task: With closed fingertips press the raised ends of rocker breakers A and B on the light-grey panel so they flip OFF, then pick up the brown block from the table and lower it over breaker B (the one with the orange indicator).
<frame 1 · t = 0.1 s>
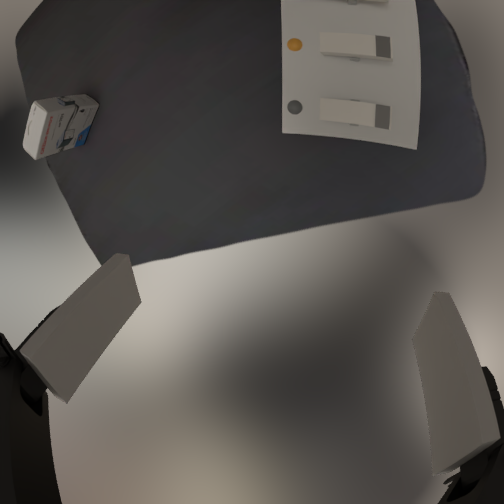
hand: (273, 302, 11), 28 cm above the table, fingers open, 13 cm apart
ink box: (84, 118, 37), on the table
breaker c: (356, 112, 26), point 5 cm above the table, hinge at 15.0°
panel: (351, 53, 26), on the table
breaker b: (356, 45, 22), point 5 cm above the table, hinge at 15.0°
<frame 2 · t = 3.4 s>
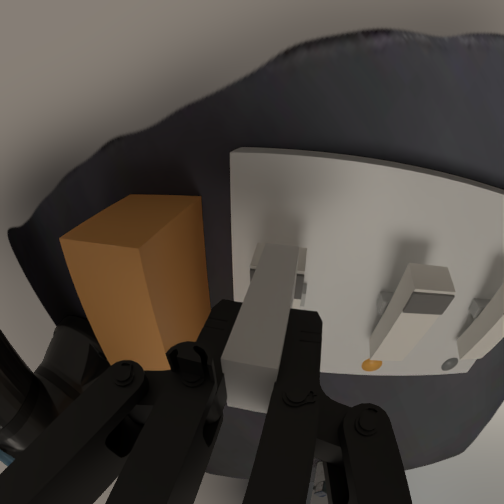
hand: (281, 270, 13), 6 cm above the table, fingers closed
ink box: (339, 463, 38), on the table
breaker c: (495, 323, 13), point 5 cm above the table, hinge at 15.0°
brown block: (172, 264, 22), on the table
panel: (392, 278, 19), on the table
breaker a: (277, 309, 16), point 5 cm above the table, hinge at 9.9°, touching gripper
breaker b: (406, 321, 15), point 5 cm above the table, hinge at 15.0°
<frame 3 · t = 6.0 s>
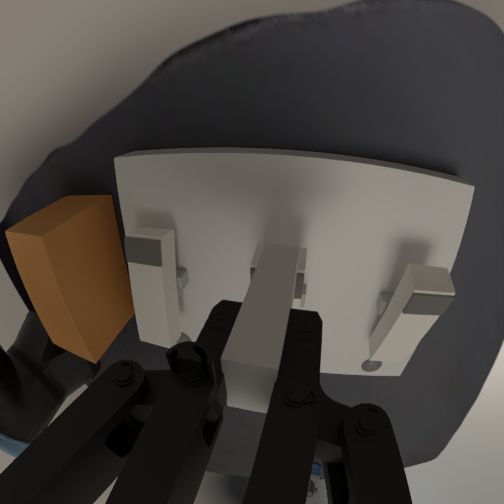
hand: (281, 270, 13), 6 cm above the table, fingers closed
ink box: (297, 461, 40), on the table
breaker c: (406, 322, 15), point 5 cm above the table, hinge at 15.0°
brown block: (100, 254, 24), on the table
panel: (285, 268, 20), on the table
breaker a: (153, 290, 18), point 5 cm above the table, hinge at -10.7°
breaker b: (276, 310, 16), point 5 cm above the table, hinge at 8.3°, touching gripper
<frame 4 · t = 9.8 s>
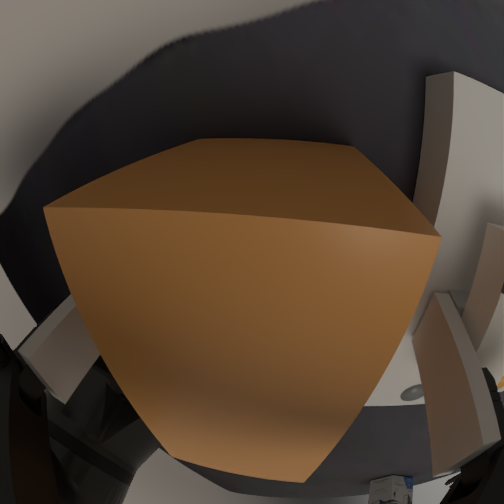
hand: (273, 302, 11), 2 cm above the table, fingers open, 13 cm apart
ink box: (391, 478, 30), on the table
brown block: (270, 269, 13), on the table
breaker a: (490, 336, 7), point 5 cm above the table, hinge at -11.0°
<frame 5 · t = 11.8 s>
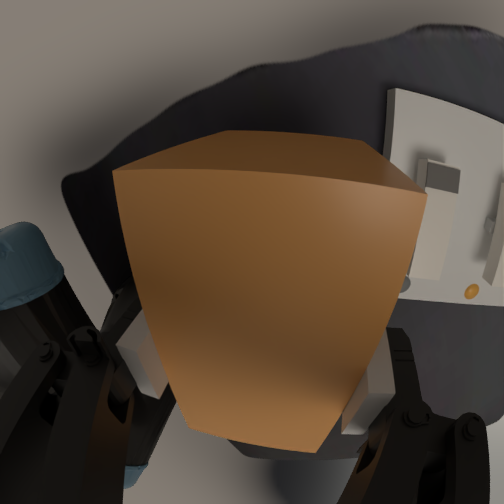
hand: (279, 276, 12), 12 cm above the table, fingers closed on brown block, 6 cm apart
brown block: (286, 250, 14), point 9 cm above the table, touching gripper
panel: (484, 213, 18), on the table
breaker a: (432, 220, 16), point 5 cm above the table, hinge at -11.0°
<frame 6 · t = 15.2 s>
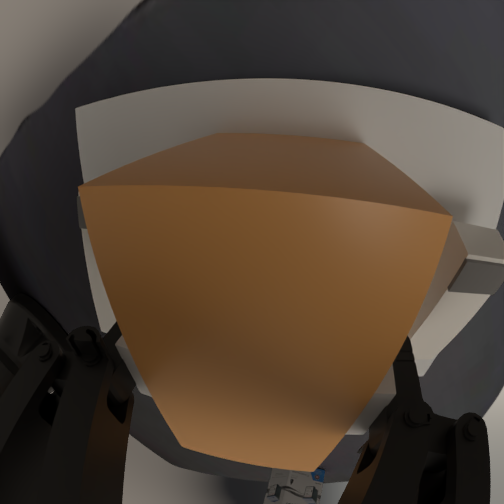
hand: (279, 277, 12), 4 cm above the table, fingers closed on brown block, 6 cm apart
ink box: (299, 466, 36), on the table
breaker c: (444, 306, 10), point 5 cm above the table, hinge at 15.0°
brown block: (282, 261, 13), point 3 cm above the table, touching gripper, panel
panel: (284, 239, 16), on the table
breaker a: (113, 266, 13), point 5 cm above the table, hinge at -11.0°
when the fingers open (4 cm above the table, at t = 15.6 s): brown block stays where it is, resting on panel.
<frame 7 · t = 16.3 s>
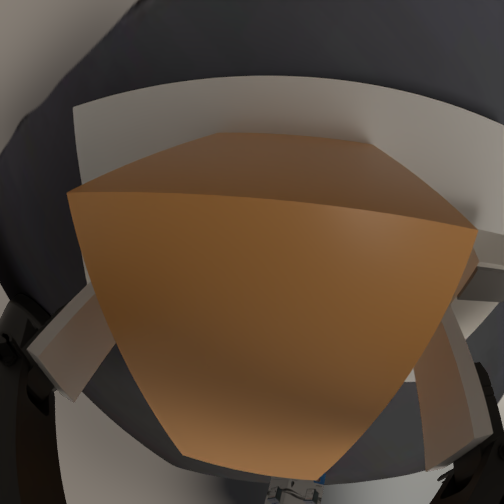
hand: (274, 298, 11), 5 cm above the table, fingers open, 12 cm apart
ink box: (300, 468, 36), on the table
breaker c: (452, 313, 10), point 5 cm above the table, hinge at 15.0°, touching gripper
brown block: (286, 265, 13), point 2 cm above the table, touching panel
panel: (287, 242, 15), on the table
breaker a: (112, 269, 13), point 5 cm above the table, hinge at -11.0°, touching gripper
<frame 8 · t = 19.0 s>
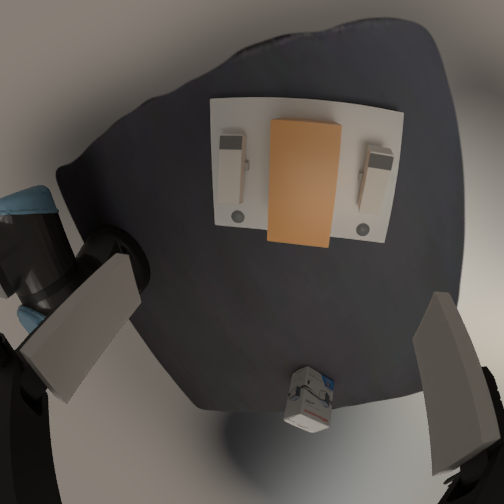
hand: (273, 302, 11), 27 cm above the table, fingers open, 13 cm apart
ink box: (313, 377, 54), on the table
breaker c: (374, 181, 28), point 5 cm above the table, hinge at 15.1°
brown block: (305, 168, 31), point 2 cm above the table, touching panel
panel: (304, 164, 33), on the table
breaker a: (231, 168, 31), point 5 cm above the table, hinge at -13.5°
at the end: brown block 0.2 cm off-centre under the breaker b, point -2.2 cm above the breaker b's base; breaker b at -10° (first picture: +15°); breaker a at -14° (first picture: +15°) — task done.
